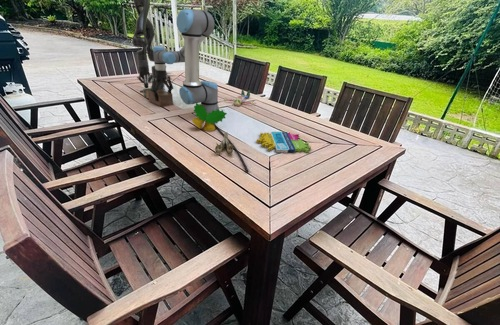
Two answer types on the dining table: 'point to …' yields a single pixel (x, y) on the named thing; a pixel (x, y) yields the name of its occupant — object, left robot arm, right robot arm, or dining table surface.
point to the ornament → (207, 117)
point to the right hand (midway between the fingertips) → (163, 99)
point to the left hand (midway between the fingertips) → (146, 87)
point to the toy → (241, 99)
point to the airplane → (166, 75)
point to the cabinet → (161, 98)
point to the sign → (283, 142)
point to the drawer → (145, 92)
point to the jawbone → (224, 145)
